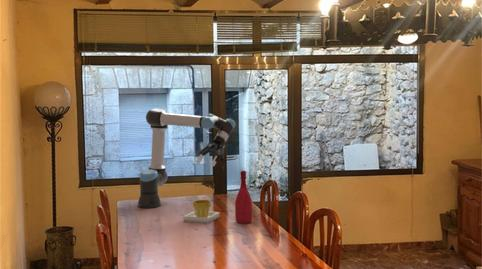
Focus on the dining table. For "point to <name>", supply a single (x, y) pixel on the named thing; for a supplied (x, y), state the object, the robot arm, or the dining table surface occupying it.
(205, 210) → the plant pot
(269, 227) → the dining table surface
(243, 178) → the wine bottle
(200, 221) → the white tray
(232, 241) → the dining table surface
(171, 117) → the robot arm
